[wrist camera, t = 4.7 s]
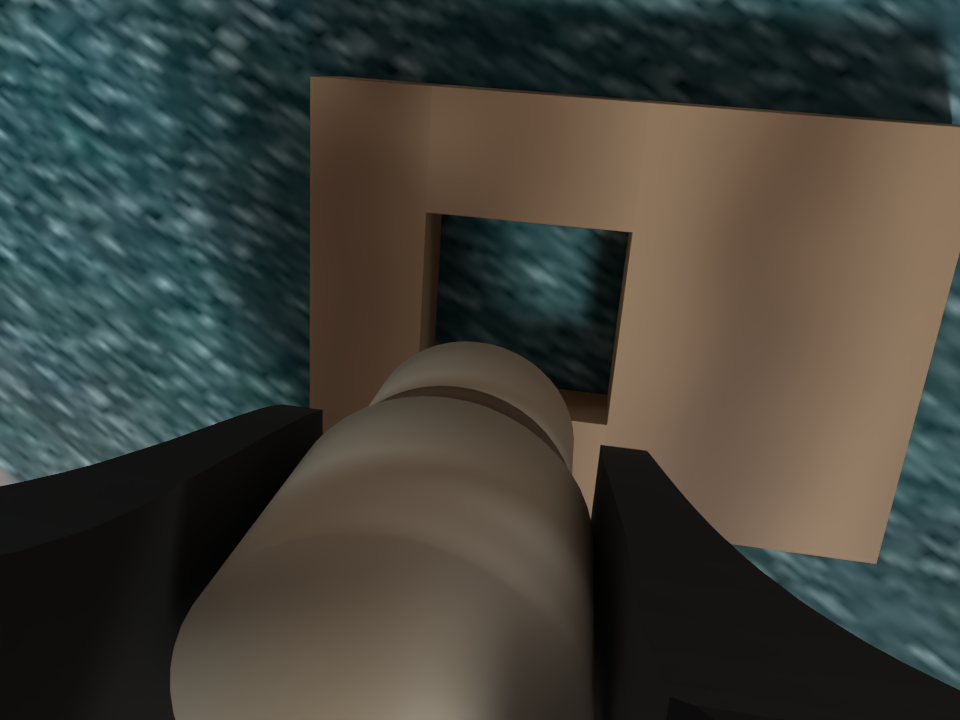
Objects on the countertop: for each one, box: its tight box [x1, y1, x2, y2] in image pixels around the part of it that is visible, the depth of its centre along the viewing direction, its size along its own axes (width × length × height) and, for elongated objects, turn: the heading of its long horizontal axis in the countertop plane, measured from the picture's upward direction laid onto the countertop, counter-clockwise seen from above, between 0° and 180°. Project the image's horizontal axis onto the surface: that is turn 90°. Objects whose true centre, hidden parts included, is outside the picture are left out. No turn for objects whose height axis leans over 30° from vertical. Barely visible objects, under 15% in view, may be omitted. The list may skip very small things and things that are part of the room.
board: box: [310, 76, 960, 564], centre depth 20 cm, size 14×10×2 cm
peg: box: [170, 341, 594, 720], centre depth 10 cm, size 4×4×6 cm
